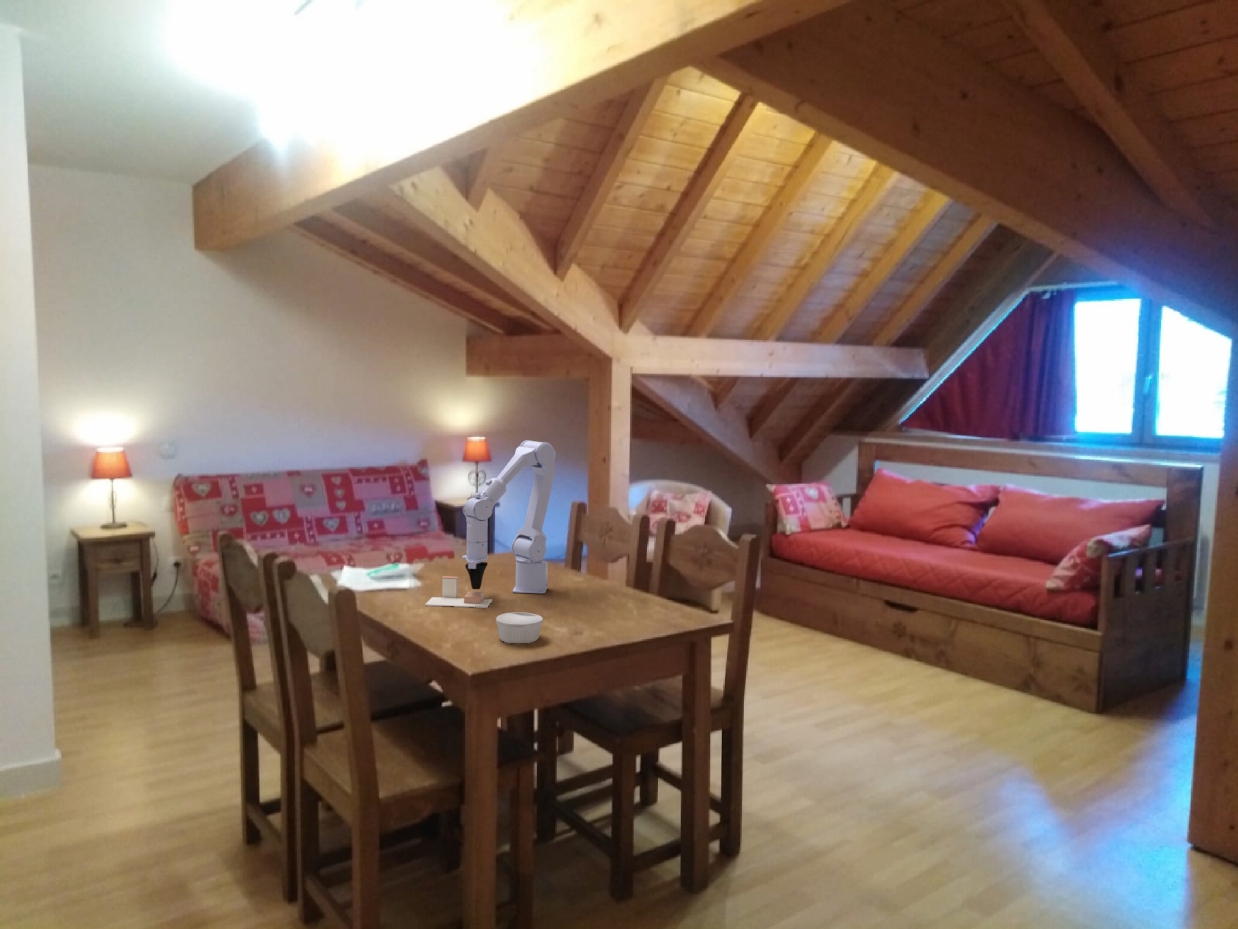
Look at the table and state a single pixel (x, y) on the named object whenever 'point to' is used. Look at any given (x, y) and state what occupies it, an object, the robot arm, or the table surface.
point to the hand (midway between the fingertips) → (476, 588)
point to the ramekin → (519, 627)
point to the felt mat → (457, 602)
